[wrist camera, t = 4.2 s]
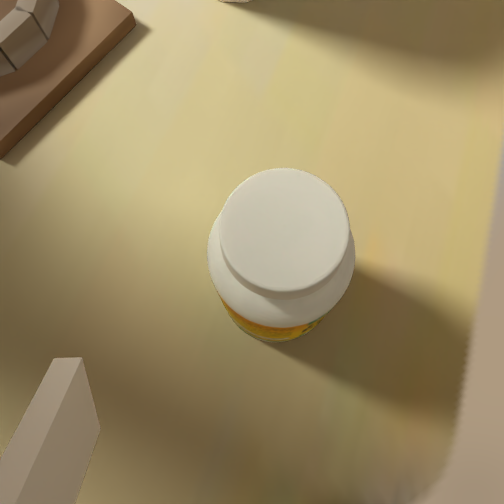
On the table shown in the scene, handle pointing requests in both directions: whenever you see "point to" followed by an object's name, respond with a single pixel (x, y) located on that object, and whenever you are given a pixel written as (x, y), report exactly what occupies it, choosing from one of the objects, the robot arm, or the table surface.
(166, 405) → the table surface
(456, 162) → the table surface
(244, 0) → the foam cup
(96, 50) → the socket board
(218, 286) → the supplement bottle
